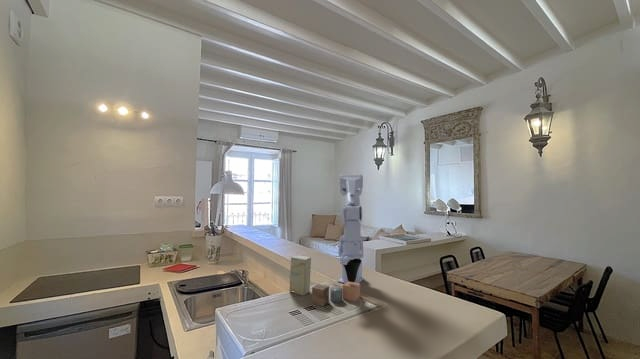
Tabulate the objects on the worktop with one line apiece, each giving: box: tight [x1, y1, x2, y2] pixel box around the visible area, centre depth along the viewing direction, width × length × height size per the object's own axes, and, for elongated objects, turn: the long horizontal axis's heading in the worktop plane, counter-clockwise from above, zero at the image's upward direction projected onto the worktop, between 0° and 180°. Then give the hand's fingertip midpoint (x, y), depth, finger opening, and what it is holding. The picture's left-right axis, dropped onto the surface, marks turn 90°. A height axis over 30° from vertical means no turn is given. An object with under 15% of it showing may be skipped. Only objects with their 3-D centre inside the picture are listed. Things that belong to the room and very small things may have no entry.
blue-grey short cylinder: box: [329, 286, 343, 304], centre depth 82 cm, size 4×4×4 cm
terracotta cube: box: [342, 281, 361, 302], centre depth 84 cm, size 4×4×4 cm
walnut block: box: [311, 283, 330, 307], centre depth 80 cm, size 4×4×5 cm
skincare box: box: [288, 254, 312, 296], centre depth 89 cm, size 6×4×12 cm
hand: (351, 281), depth 84 cm, fingers closed
